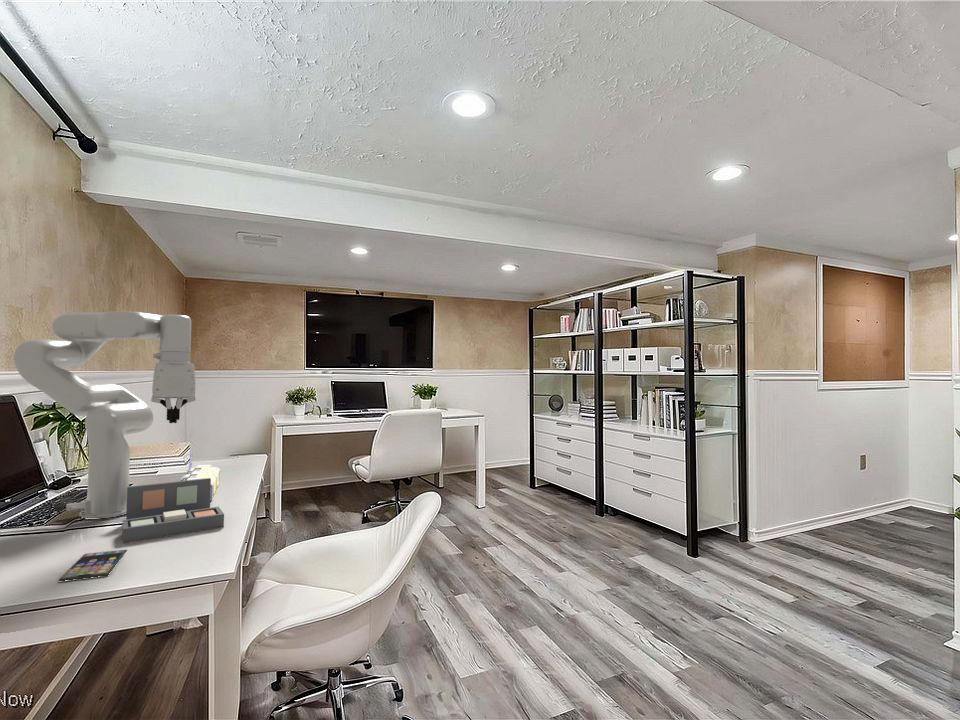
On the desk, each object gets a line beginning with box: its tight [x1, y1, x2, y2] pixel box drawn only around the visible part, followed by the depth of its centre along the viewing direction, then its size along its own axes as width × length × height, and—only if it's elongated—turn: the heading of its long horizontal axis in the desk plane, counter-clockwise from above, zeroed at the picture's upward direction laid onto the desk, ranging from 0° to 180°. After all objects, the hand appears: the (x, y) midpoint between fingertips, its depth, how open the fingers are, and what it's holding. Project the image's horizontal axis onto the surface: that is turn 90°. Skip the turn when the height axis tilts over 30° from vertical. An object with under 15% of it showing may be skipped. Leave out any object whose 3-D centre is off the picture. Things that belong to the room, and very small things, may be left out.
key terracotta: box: [193, 510, 216, 518], centre depth 132 cm, size 5×5×2 cm
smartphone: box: [58, 549, 128, 582], centre depth 105 cm, size 8×15×1 cm, turn 24°
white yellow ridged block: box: [179, 451, 221, 501], centre depth 162 cm, size 25×10×13 cm, turn 23°
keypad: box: [121, 478, 225, 544], centre depth 132 cm, size 22×19×10 cm
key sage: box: [130, 519, 154, 527], centre depth 123 cm, size 5×5×2 cm
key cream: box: [163, 510, 187, 522], centre depth 128 cm, size 5×5×2 cm
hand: (172, 422), depth 138 cm, fingers closed
